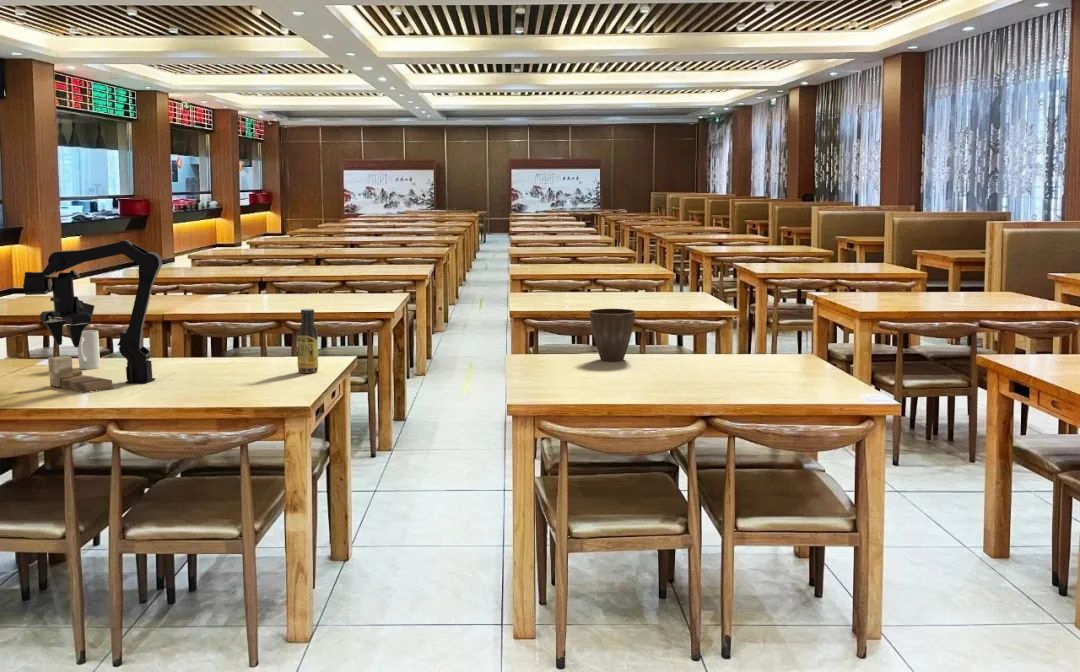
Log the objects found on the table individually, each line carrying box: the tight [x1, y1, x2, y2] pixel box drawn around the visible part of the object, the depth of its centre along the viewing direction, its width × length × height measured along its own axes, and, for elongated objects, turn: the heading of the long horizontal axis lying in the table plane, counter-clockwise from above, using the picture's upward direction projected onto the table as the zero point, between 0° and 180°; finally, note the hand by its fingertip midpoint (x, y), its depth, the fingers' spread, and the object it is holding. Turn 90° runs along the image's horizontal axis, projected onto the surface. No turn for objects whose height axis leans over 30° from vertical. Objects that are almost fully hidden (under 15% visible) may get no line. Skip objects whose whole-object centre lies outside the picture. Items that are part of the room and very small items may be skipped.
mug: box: [76, 329, 101, 370], centre depth 353 cm, size 10×7×12 cm, turn 0°
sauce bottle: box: [297, 308, 319, 374], centre depth 339 cm, size 6×6×20 cm
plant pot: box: [588, 308, 636, 362], centre depth 354 cm, size 15×15×16 cm
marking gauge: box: [47, 355, 83, 388], centre depth 323 cm, size 4×9×8 cm, turn 142°
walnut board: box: [56, 374, 113, 393], centre depth 320 cm, size 20×8×3 cm, turn 52°
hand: (68, 346), depth 323 cm, fingers open, 9 cm apart
